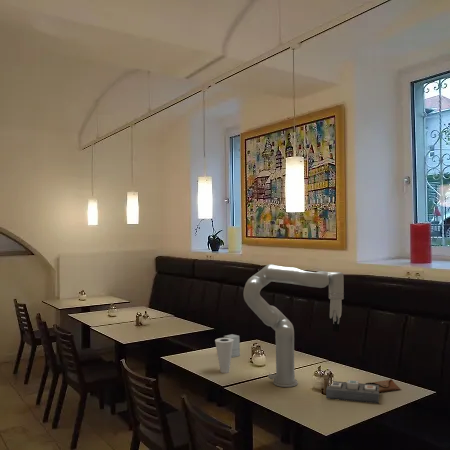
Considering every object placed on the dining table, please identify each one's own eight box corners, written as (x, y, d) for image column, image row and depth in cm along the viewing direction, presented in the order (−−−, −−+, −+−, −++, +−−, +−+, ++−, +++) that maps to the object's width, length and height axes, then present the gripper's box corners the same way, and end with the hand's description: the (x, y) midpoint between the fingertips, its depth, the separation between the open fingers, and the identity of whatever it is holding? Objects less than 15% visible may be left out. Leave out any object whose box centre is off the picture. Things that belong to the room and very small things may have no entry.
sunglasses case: (373, 394, 244) (369, 381, 247) (365, 398, 250) (361, 384, 253) (403, 389, 251) (398, 376, 254) (395, 393, 257) (390, 380, 260)
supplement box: (232, 353, 324) (232, 333, 323) (240, 355, 318) (239, 335, 318) (223, 355, 319) (223, 335, 319) (231, 358, 313) (230, 337, 313)
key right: (364, 396, 239) (364, 388, 239) (365, 393, 244) (364, 384, 244) (375, 397, 237) (375, 388, 237) (375, 394, 242) (375, 385, 242)
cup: (234, 369, 290) (234, 337, 290) (233, 374, 279) (232, 342, 279) (216, 368, 291) (216, 337, 291) (214, 374, 280) (213, 342, 280)
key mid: (347, 391, 241) (347, 382, 241) (348, 388, 246) (347, 379, 246) (357, 392, 240) (357, 383, 240) (358, 388, 245) (358, 380, 244)
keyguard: (326, 398, 240) (326, 389, 240) (329, 389, 253) (329, 380, 253) (378, 403, 233) (378, 393, 233) (379, 394, 245) (379, 384, 245)
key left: (330, 393, 244) (330, 385, 244) (331, 390, 249) (331, 381, 249) (340, 394, 242) (340, 386, 242) (341, 391, 247) (341, 382, 247)
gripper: (331, 293, 268) (331, 327, 268) (326, 297, 254) (326, 334, 254) (345, 294, 265) (345, 328, 266) (341, 298, 251) (341, 335, 252)
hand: (336, 331), depth 260 cm, fingers closed
